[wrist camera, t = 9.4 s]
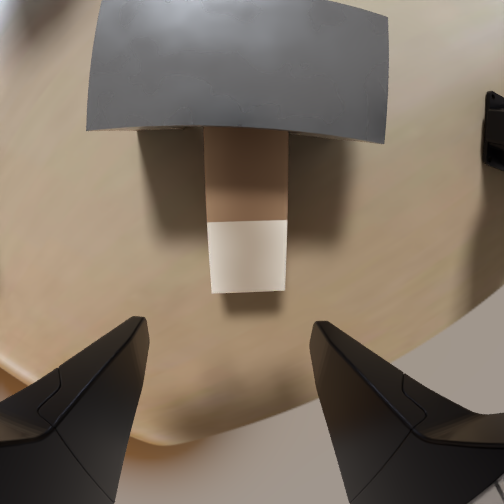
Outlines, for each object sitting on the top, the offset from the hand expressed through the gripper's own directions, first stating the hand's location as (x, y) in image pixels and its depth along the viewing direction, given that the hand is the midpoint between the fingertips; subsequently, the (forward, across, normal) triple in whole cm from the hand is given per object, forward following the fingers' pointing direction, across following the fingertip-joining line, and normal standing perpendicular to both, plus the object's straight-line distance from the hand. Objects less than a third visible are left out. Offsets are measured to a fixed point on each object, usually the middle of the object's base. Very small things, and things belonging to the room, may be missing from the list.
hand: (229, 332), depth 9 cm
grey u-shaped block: (+11, 0, -9) cm, 14 cm away
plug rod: (+11, 0, -5) cm, 12 cm away
